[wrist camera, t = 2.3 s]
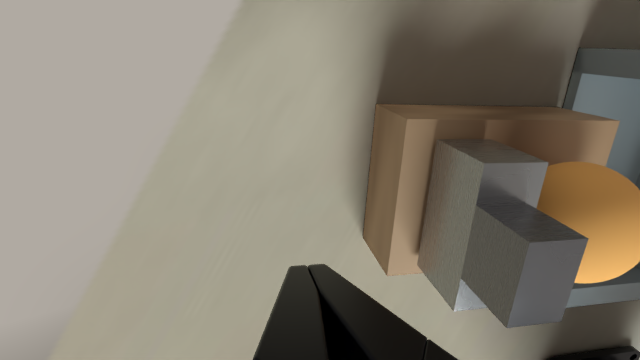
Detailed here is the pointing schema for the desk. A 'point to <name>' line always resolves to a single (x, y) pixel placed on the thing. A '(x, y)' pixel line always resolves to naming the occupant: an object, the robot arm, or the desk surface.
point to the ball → (595, 216)
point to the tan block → (458, 123)
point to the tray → (628, 147)
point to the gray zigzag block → (496, 235)
